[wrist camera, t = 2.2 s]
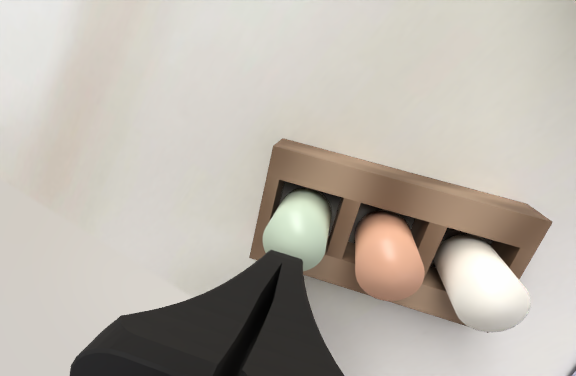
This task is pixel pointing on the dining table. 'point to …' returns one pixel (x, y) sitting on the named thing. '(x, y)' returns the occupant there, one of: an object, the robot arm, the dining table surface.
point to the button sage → (300, 227)
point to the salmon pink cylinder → (387, 257)
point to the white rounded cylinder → (481, 284)
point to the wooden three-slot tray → (404, 200)
